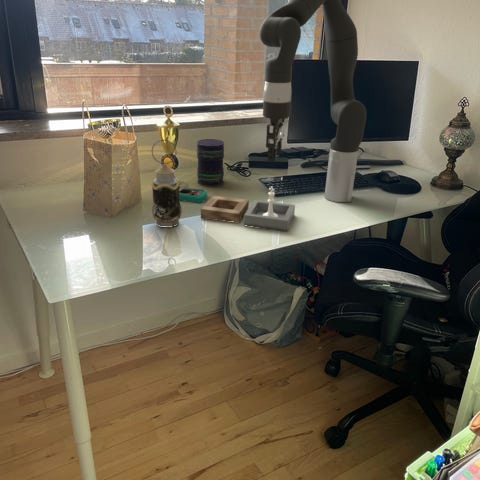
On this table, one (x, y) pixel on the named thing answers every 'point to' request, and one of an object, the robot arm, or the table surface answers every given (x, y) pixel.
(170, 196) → the lantern
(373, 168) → the table surface
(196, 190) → the digital multimeter
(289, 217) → the parts tray
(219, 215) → the socket stand
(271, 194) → the chess piece
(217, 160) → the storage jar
